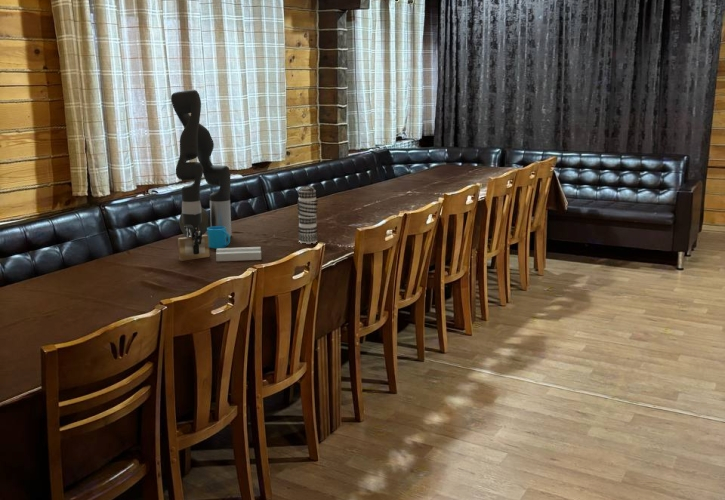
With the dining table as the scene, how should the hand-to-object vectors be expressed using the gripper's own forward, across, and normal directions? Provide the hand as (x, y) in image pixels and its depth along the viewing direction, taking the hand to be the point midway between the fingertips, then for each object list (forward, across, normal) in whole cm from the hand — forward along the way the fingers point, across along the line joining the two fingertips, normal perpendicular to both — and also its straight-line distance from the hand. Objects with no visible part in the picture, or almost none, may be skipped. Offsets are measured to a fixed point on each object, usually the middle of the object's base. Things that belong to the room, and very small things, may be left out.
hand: (194, 252), depth 275 cm
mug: (+3, -13, +17) cm, 22 cm away
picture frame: (+2, 0, 0) cm, 2 cm away
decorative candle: (+2, +1, +54) cm, 54 cm away
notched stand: (+2, +9, +16) cm, 18 cm away
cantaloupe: (+2, -34, +14) cm, 37 cm away
